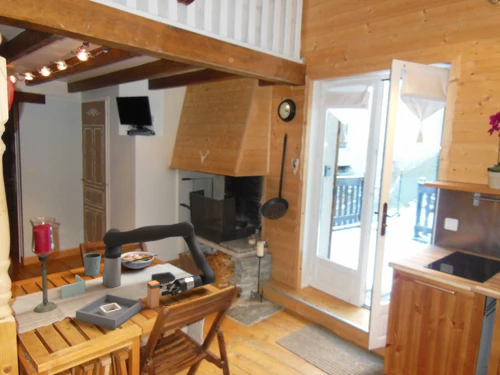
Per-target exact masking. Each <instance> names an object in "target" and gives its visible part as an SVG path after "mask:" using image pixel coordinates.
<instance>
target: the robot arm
mask: <svg viewBox="0 0 500 375" xmlns="http://www.w3.org/2000/svg"><path fill="white" fill-rule="evenodd" d="M175 237H176V238H178V237H179V238H180V237H181V238H183V240H184V241H185V243H186V245H187V247H188V250H189V252H190V256H191V258H192V260H193V263H194V265H195V267H196V269H197V271H201V272H202V273H201V274H195V275H190V276H183V277H181V278H180V277H179V278H177V279H175V280H174V281H173V282H170V280H165V281H161V282H159V284H160V287H159V290H164V291H161V297H165V296H171V297H175V296H177V295H180V294H181V295H182V293H184V292H188V291H190V290H194V289H196V288H197V289H198V288H200V287H204V286H208V285H211V284H213V283H215V281H216V280H217V276H216V275H217V274H216V272H215V271H214V269H213V268H212V266H211V265H210V264H209V263H208V260H207V259H206V256H205V254H204V252H203V250H202V248H201V247H200V244H199V241H198V240H197V237H196V233H195V227H194V224H193V223H191V222H190V221H182V222H181V221H180V222H177V223H172V224H155V225H154V224H152V225H144V226H140V227H137V228H134V229H131V230H128V231H121V230H119V229H118V228H115V227H114V228H110V229H108V230H107V232H106V233H105V234H104V236H103V238H102V242H103V244H104V245H105V247H104V254H103V255H104V257H103V259H104V260H103V264H104V266H103V269H102V285H103V286H104V287H106V288H116V287H119V286H121V284H122V263H121V255H122V252H123V250H122V249H123V245H128V244H129V245H130V244H138V243H139V244H140V243H149V242H151V243H152V242H156V241H161V240H164V239H170V238H175Z"/></svg>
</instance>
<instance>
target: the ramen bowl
mask: <svg viewBox="0 0 500 375" xmlns="http://www.w3.org/2000/svg"><path fill="white" fill-rule="evenodd" d="M156 256H157V257H158V254H153V253H152V252H148V251H129V252H125V253H121V265H123V266H124V267H126V268H129V269H133V270H140V269H143V268H145V267H148V266H149V265H150V264H151V263H152V262H153V261H154V258H155V257H156Z"/></svg>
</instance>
